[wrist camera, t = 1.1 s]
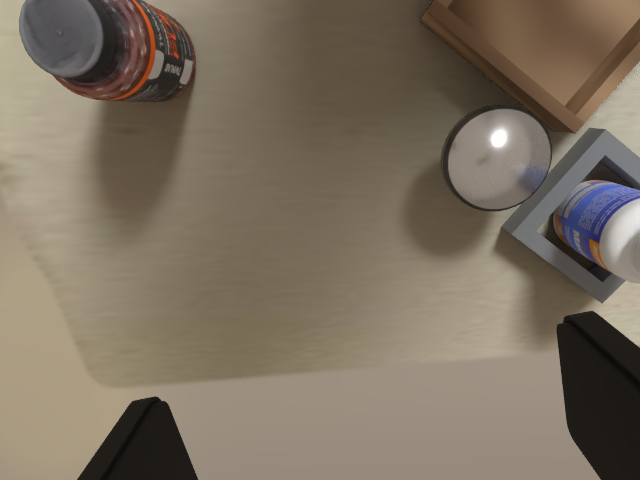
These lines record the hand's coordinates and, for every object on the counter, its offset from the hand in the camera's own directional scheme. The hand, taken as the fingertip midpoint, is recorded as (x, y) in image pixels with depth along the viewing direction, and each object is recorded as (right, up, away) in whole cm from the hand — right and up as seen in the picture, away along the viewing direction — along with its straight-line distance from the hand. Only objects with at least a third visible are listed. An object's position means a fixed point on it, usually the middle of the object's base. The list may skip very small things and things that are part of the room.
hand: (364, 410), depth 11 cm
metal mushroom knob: (+10, +10, +22) cm, 26 cm away
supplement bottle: (-12, +17, +21) cm, 30 cm away
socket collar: (+19, +6, +23) cm, 30 cm away
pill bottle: (+19, +6, +23) cm, 31 cm away
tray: (+14, +20, +19) cm, 31 cm away
